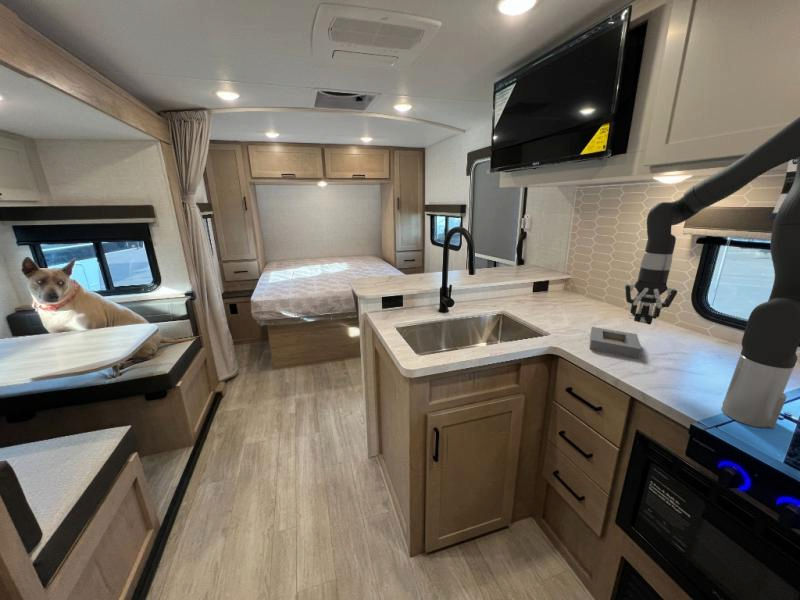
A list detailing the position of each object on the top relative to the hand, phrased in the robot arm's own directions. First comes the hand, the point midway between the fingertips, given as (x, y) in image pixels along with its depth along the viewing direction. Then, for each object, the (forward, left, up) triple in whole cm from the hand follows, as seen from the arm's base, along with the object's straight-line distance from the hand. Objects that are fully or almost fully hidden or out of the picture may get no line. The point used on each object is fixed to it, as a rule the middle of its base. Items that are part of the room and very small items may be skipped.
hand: (643, 316), depth 107 cm
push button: (+1, 0, -2) cm, 2 cm away
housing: (+5, -16, -19) cm, 25 cm away
